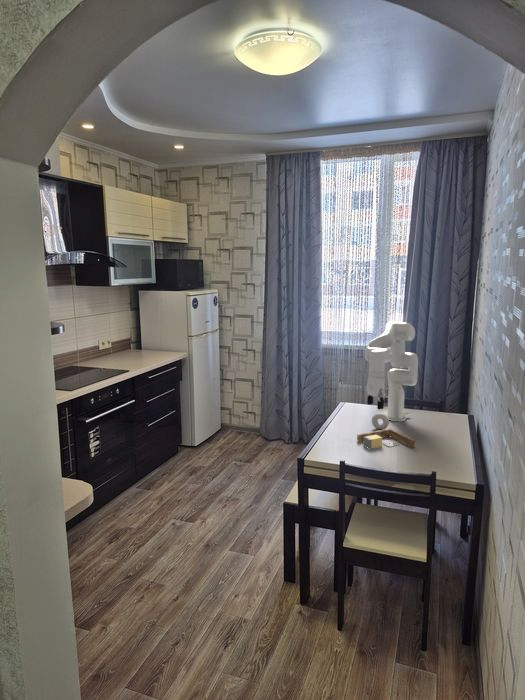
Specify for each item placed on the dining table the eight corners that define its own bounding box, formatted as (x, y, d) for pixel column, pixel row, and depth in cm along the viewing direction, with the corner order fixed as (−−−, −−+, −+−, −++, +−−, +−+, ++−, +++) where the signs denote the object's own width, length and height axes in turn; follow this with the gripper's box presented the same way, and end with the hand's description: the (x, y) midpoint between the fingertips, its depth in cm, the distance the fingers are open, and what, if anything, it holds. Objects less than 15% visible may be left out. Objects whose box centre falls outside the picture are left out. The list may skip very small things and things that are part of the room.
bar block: (375, 443, 247) (376, 434, 246) (381, 446, 242) (382, 437, 241) (363, 445, 243) (363, 436, 243) (369, 449, 239) (369, 439, 238)
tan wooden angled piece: (389, 435, 258) (390, 428, 258) (414, 447, 240) (415, 440, 240) (357, 441, 250) (357, 434, 249) (380, 454, 231) (380, 447, 231)
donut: (370, 429, 268) (371, 412, 267) (372, 427, 271) (372, 411, 270) (388, 431, 264) (388, 415, 262) (389, 429, 267) (390, 413, 265)
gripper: (361, 371, 244) (360, 403, 246) (379, 377, 228) (378, 411, 230) (373, 370, 246) (372, 401, 249) (392, 377, 230) (391, 410, 232)
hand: (375, 406), depth 239 cm, fingers open, 9 cm apart
